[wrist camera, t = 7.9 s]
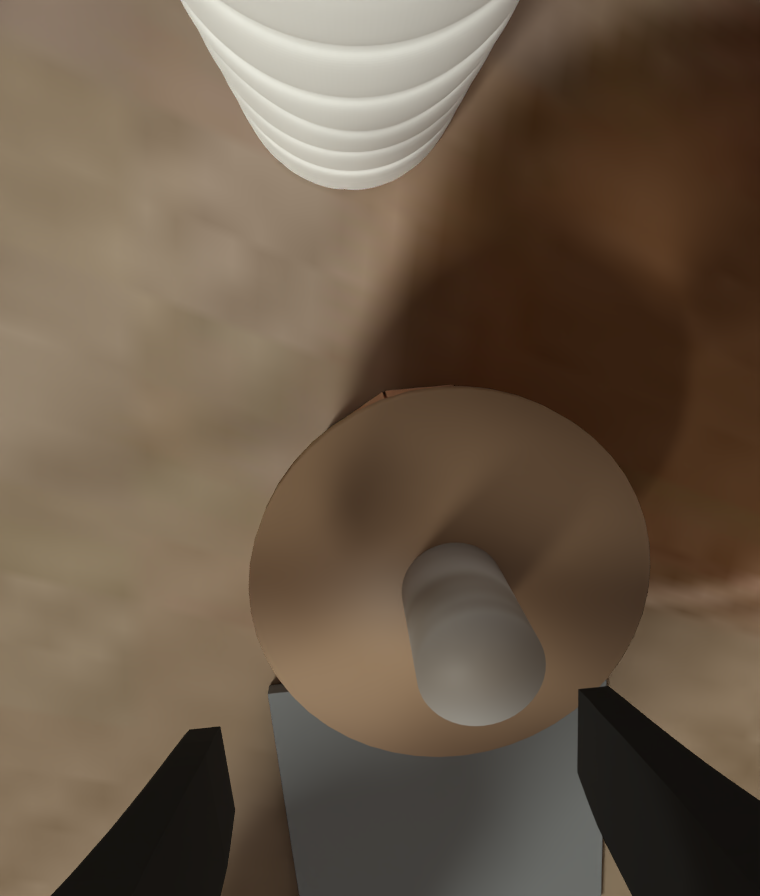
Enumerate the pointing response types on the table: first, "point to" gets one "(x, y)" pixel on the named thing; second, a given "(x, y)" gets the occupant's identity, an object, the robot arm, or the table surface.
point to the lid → (448, 571)
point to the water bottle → (349, 77)
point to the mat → (434, 814)
